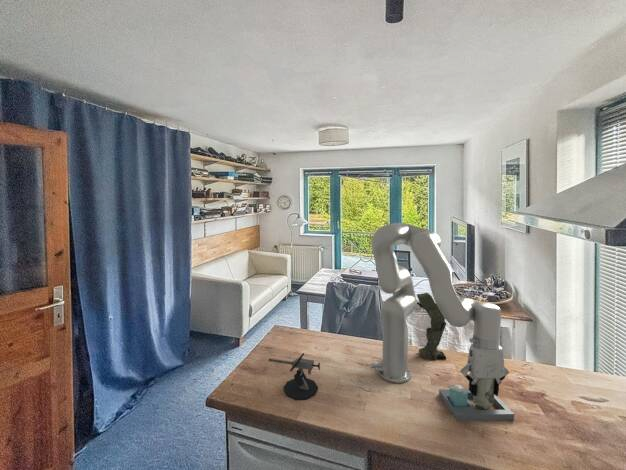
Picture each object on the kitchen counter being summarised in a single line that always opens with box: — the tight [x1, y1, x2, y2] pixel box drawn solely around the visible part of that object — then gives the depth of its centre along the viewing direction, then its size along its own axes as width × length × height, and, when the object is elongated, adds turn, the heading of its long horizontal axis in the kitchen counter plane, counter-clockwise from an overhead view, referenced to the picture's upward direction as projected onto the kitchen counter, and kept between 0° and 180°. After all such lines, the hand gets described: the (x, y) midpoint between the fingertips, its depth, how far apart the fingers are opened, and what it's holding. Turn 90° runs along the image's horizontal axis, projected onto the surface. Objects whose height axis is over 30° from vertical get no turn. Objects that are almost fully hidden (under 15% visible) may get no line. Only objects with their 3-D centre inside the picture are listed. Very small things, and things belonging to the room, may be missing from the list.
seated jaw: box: [449, 384, 469, 407], centre depth 100 cm, size 4×4×7 cm
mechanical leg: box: [416, 292, 447, 361], centre depth 133 cm, size 14×7×30 cm, turn 84°
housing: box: [438, 388, 515, 422], centre depth 101 cm, size 18×13×2 cm
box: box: [472, 371, 495, 410], centre depth 100 cm, size 5×4×13 cm
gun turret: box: [268, 352, 321, 401], centre depth 111 cm, size 13×20×13 cm, turn 73°
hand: (483, 392), depth 100 cm, fingers closed on box, 6 cm apart
